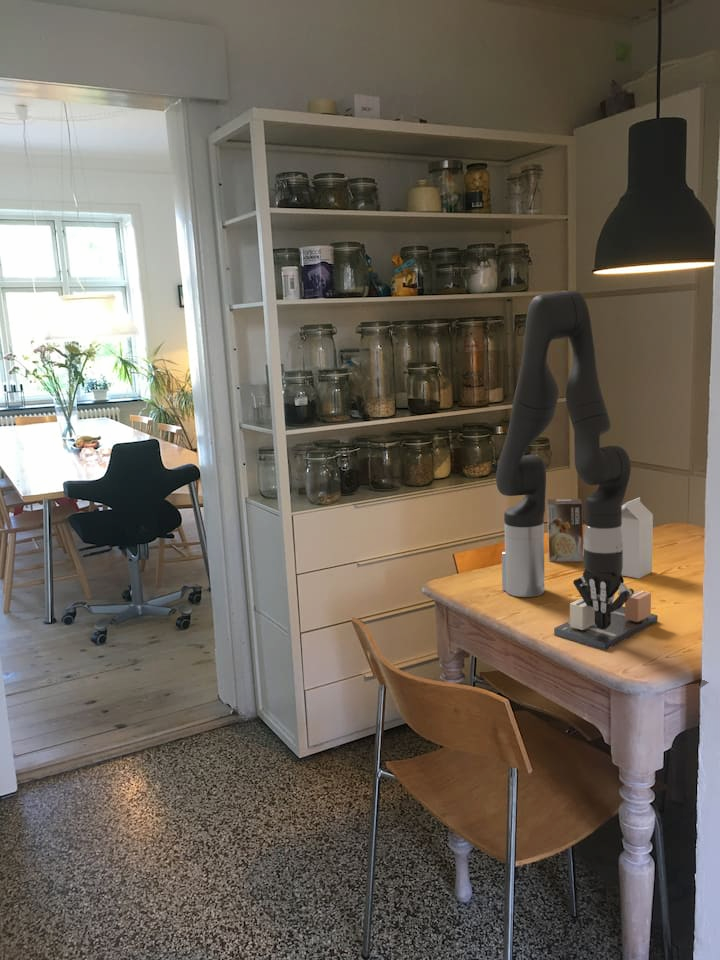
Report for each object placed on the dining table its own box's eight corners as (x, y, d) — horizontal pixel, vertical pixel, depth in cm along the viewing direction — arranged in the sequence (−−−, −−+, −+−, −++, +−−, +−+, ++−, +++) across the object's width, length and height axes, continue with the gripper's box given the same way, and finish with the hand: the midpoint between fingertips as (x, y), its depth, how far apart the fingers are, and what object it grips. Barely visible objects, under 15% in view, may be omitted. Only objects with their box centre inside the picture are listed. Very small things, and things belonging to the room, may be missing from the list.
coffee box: (582, 555, 219) (582, 498, 216) (583, 562, 213) (583, 503, 210) (547, 554, 221) (547, 498, 218) (548, 561, 215) (547, 503, 212)
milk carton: (652, 572, 202) (653, 499, 198) (638, 579, 197) (639, 504, 193) (626, 567, 207) (626, 495, 203) (612, 574, 202) (612, 501, 198)
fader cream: (570, 626, 165) (569, 602, 164) (583, 619, 169) (583, 596, 168) (582, 630, 163) (582, 606, 162) (596, 623, 166) (596, 599, 165)
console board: (554, 634, 166) (554, 627, 166) (607, 608, 179) (607, 601, 179) (605, 650, 157) (605, 642, 157) (657, 621, 170) (657, 614, 170)
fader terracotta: (624, 618, 168) (625, 595, 167) (637, 612, 171) (637, 589, 170) (638, 622, 166) (638, 598, 165) (650, 615, 169) (650, 592, 168)
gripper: (563, 544, 162) (564, 625, 165) (622, 556, 152) (622, 642, 155) (585, 536, 166) (585, 615, 170) (643, 547, 157) (642, 630, 160)
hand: (602, 627), depth 162 cm, fingers closed
